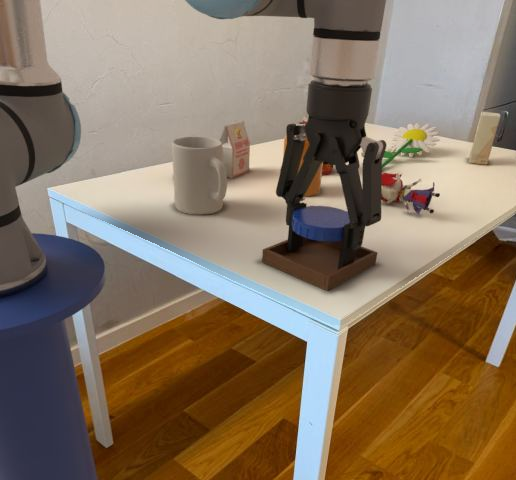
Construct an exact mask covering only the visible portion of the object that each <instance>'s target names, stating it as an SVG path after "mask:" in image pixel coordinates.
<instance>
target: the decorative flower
mask: <svg viewBox="0 0 516 480" xmlns="http://www.w3.org/2000/svg"><path fill="white" fill-rule="evenodd" d="M430 126H431V124H430V123H426V124H424V125H423V126H421V124H420V122H416V123H415V124H412V123H408V124H407V127H405V126H399V128H398V129H399V131H395V132H393V133H392V135H393V136H395V137H392V138H391V139H390V141H391V142H393V143H391V145H390V146H389V147H388V149H391V150H390V151H388V150H385V153H384V156H383V159H386V160H385V161H384V162H382V169H384V168H385V167H386V166H387V165H388V164H390V162H391V161H392V160H394V159H395V158H396V157H397V156H398V155H400V156H401V157H404V156H405V155H406V154H408V156H409V158H413V157H414V155H415V153H416V154H417V155H418V156H419V157H420V156H421V155H422V153H423V151H424V152H426V153H428V154H429V153H430V154H431V149H430V147H429V146H436V145H437V143H436V142H440V141H441V140H440V138H438V137H436V136H438V135H439V134H440V132H439V131H435V130H436V129H437V126H431V127H430ZM429 127H430V128H429ZM393 152H394V153H393Z"/></svg>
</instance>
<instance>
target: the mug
mask: <svg viewBox="0 0 516 480" xmlns="http://www.w3.org/2000/svg"><path fill="white" fill-rule="evenodd" d="M171 152H172V153H171V155H172V173H173V192H174V193H173V195H174V207H175V209H176V210H177V211H179V212H181V213H184V214H188V215H199V216H200V215H201V216H202V215H209V214H210V215H211V214H214V213H215V214H216V213H217V212H219V211H221V210H222V209H223V204H224V202H223V201H224V200H225V197H226V195H227V190H228V189H227V188H228V177H227V175H226V169H225V166H224V164H223V163H222V154H223V148H222V142H221V141H220V139H217V138H213V137H208V136H184V137H179V138H175V139H174V140H172V142H171Z"/></svg>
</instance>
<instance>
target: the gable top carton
mask: <svg viewBox="0 0 516 480" xmlns="http://www.w3.org/2000/svg"><path fill="white" fill-rule="evenodd" d="M219 141H221V142H222V148H223V154H222V163H223V164H224V166H225V169H226V175H227V178H230V179H233V178H236V177H238V176H241V175H243V174H245V173H248V172H250V157H251V156H250V155H251V154H250V152H251V142H250V138H249V135H248V133H247V129H246V126H245V120H240V121H237V122H233V123H232V122H231V123H230V124H226V125H224V127H223V131H222V134H221V136H220V139H219Z"/></svg>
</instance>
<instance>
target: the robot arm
mask: <svg viewBox="0 0 516 480" xmlns="http://www.w3.org/2000/svg"><path fill="white" fill-rule="evenodd" d="M184 1H185V2H186V3H187V4H188V5H189V6H190V7H191V8H192V9H194V10H196V11H197V12H198V13H201V14H204V15H205V16H208V17H210V18H213V19H216V20H233V19H238V18H242V17H278V18H279V17H280V18H300V19H313V26H314V27H313V32H312V35H313V36H312V42H311V43H312V44H311V52H310V62H309V70H308V71H309V75H310V76H311V77H313V78H314V79H313V80H311V81H310V83H308V87H307V99H306V108H305V109H306V113H307V115H309V117H308V120H307V122H306V124H304V123H303V121H300V122H292V123H289V124H287V125H286V129H285V133H286V135H287V144H286V149H285V153H284V158H283V157H282V162H281V167H280V172H279V176H278V180H277V184H276V189H275V194H276V196H277V197H278V198H282V199H284V201H285V203H286V213H285V224H286V226H287V227H288V231H287V232H288V233H287V240H288V242H287V250H289V251H293V250H295V249H298V248H300V247H302V245H303V237H302V236H300V235H298V234H297V233H295V232H294V231H293V229H292V226H291V225H292V217H293V213H294V211H295V210H297V209H299V208H302V207H307V206H308V205H307V203H306V202H303V201H305V200H306V198H305V196H304V195H305V193H306V192H307V190H308V188H309V186H310V184H311V182H312V180H313V178H314V176H315V174H316V172H317V171H318V169H319V167H320V165H321V163H322V162H328V163H330V164H331V165H333V166H334V167H335V171H336V174H338V176H339V178H340V179H339V180H340V182H341V189H342V192H343V197H344V202H345V205H346V210H347V212H348V216H349V220H350V223H348V224H346V225H344V230H343V236H342V243H341V250H340V257H339V264H338V269H340V268H342V267H344V266H346V265H348V264H350V263H352V262H354V259H355V253H356V249H358V248H360V247H361V246H363V242H364V235H365V232H366V231H365V230H366V227H370V226H372V225H375V224H377V223H379V222H381V220H382V200H381V192H382V174H383V168H382V164H383V159H384V158H383V156H384V153H385V151H386V150H387V142H386V141H385V140H384V139H381V140H376V139H373V138H371V137H368V136H367V132H366V122H367V119H368V116H369V113H370V106H371V99H372V92H373V87H372V85H371V84H369V81H372V80H373V79H374V77H375V72H376V65H377V59H378V54H379V53H378V52H379V46H380V38H381V32H382V27H383V21H384V15H385V10H386V3H387V0H184ZM45 39H46V37H45V30H44V22H43V13H42V5H41V0H0V298H3V297H7V296H11V295H14V294H17V293H20V292H22V291H25V290H27V289H29V288H31V287H33V286H34V285H36V284H37V283H39V282H40V281H41V280H42V279H43V278H44V277H45V276H46V274H47V271H48V267H47V262H46V258H45V254H44V253H43V251H42V250H41V248H40V246H39V245H38V243H37V241H36V240H35V238H34V236H33V235H32V233H33V232H32V231H31V230H30V228H29V227H28V225H27V223H26V221H25V220H24V217H23V215H22V214H23V213H22V210H21V206H20V202H19V197H18V192H17V188H16V187H18V186H21V185H23V184H26V183H28V182H30V181H32V180H34V179H37V178H39V177H41V176H43V175H45V174H51V173H53V172H55V171H57V170H59V169H60V168H62V166H64V165H65V164H66V163H68V162H69V161H70V160H71V159H73V157H74V156H75V155H76V153H77V151H78V149H79V146H80V144H81V138H82V124H81V119H80V115H79V112H78V111H77V108H76V106H75V105H74V104H73V103H72V102H70V97H69V96H68V95H67V94H66V93H65V92H64V91H63V83H62V77H61V75H60V74H59V73H57V71H56V70H55V69H54V68H52V67H51V65H50V64H49V61H48V56H47V55H48V54H47V47H46V40H45ZM306 138H307V139H308V142H309V144H310V145H309V147H308V149H307V151H306V153H305V155H304V157H303V160H304V162H303V164H302V166H301V168H300V170H299V166H300V162H301V158H302V154H303V150H304V145H305V139H306ZM360 149H361V150H362V152H361V157H362V158H363V159H362V166H361V169H362V170H361V171H362V174H361V175H362V176H360V171H359V169H360V160H359V155H358V152H359V151H360ZM347 163H348V164H347ZM298 170H299V172H298ZM361 177H362V181H361Z"/></svg>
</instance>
